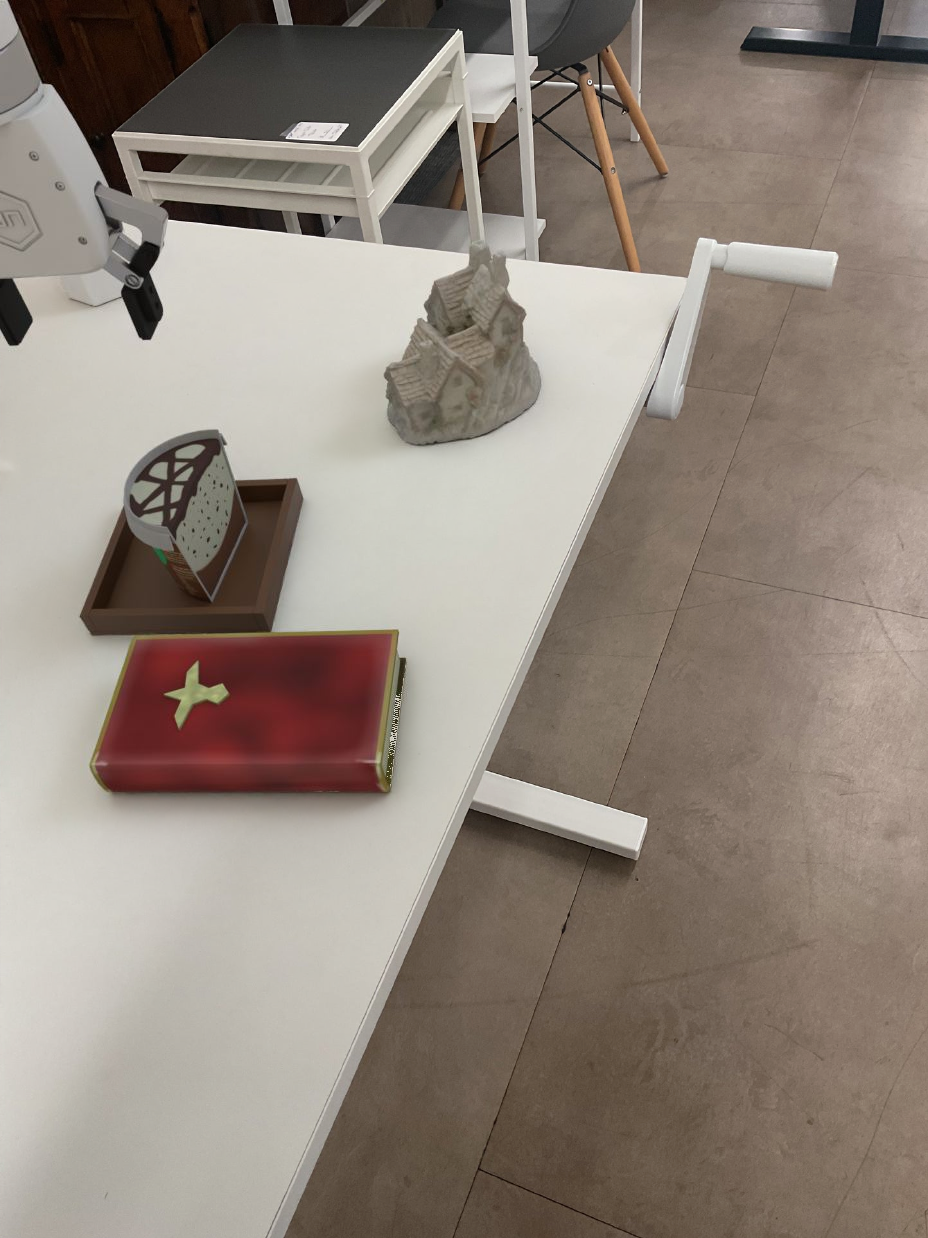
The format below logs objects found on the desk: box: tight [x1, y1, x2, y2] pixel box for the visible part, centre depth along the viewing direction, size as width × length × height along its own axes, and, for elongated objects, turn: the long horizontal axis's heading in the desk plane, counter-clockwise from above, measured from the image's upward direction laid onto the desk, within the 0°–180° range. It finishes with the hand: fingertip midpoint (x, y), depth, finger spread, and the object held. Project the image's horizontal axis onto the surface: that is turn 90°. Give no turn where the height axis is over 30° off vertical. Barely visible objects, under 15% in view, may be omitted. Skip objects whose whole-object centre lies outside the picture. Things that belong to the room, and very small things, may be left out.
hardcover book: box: [89, 628, 407, 793], centre depth 75 cm, size 12×21×4 cm, turn 86°
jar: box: [58, 227, 130, 307], centre depth 115 cm, size 9×8×12 cm
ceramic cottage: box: [383, 238, 542, 446], centre depth 94 cm, size 16×16×15 cm
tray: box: [79, 477, 304, 636], centre depth 87 cm, size 16×16×2 cm
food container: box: [122, 428, 248, 603], centre depth 84 cm, size 12×6×10 cm, turn 168°
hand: (86, 331), depth 71 cm, fingers open, 9 cm apart
